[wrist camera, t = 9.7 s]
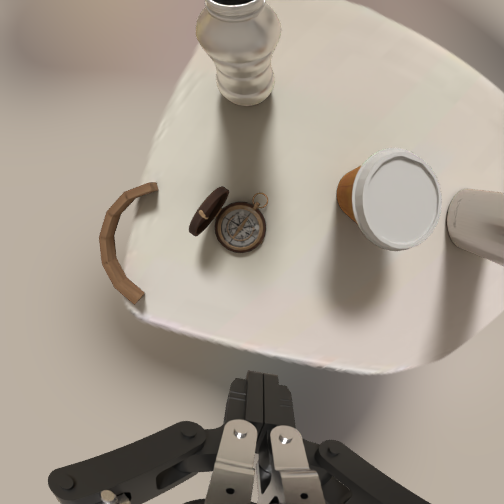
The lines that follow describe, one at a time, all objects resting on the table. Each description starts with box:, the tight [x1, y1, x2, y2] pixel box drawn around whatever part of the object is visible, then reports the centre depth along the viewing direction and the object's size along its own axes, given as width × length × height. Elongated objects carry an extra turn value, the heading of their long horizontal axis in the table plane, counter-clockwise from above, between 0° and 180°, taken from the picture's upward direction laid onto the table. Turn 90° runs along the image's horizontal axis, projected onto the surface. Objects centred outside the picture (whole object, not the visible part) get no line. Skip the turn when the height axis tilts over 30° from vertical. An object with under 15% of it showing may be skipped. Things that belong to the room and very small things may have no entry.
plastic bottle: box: [196, 0, 281, 106], centre depth 21 cm, size 6×7×20 cm
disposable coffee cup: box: [337, 148, 442, 251], centre depth 27 cm, size 10×10×12 cm
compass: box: [189, 186, 268, 253], centre depth 31 cm, size 8×8×7 cm
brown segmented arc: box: [99, 182, 158, 305], centre depth 34 cm, size 6×16×2 cm, turn 167°
